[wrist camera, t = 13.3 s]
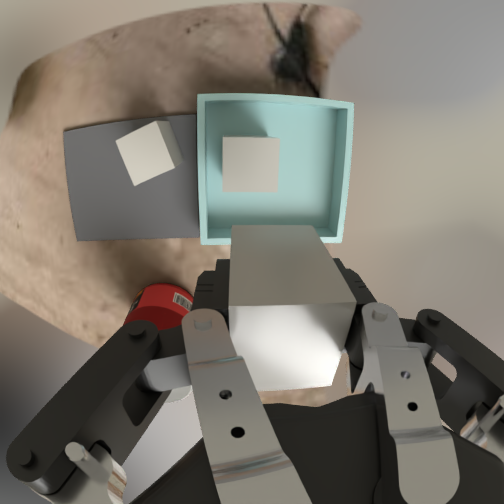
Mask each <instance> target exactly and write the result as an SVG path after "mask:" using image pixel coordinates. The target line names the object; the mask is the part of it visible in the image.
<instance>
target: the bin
mask: <svg viewBox="0 0 504 504" xmlns="http://www.w3.org/2000/svg"><path fill="white" fill-rule="evenodd" d="M353 117H354V103H350V102H343V101H337V100H330V99H322V98H313V97H303V96H292V95H277V94H254V93H213V94H197V150H198V191H199V216H200V236H201V245H226V244H231V231H232V225H312V226H313V227H314V229H315V230H316V232H317V234H318V235H319V237H320V239H321V240H322V242H323V243H341V242H342V236H343V228H344V221H345V213H346V205H347V195H348V187H349V186H348V185H349V176H350V164H351V152H352V138H353V119H354V118H353ZM224 135H266V136H272V137H276V138H280V150H279V172H278V191H277V192H222V164H223V136H224Z"/></svg>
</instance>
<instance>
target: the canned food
mask: <svg viewBox="0 0 504 504" xmlns="http://www.w3.org/2000/svg"><path fill="white" fill-rule="evenodd" d="M192 303H193V297H192V296H191V295H190V294H189V293H188V292H187V291H185V290H184V289H182V288H180V287H178V286H175V285H172V284H168V283H157V284H152V285H149V286H147V287H146V288H144V289H143V290H141V291H140V292H139V293H138V294H137V296H136V297H135V299H134V301H133V304H132V306H131V308H130V310H129V313H128V315H127V317H126V319H125V322H124V324H123V325H125V324H126V323H128V322H131V321H135V320H147V321H150V322H152V323H154V324H155V325H156V326H157V328H158V330H164V329H169V328H173V327H176V326H179V325H181V324H182V319H183V317H184V316H185V315H186V314H187V313H189V312H191V307H192ZM191 391H192V385H190V386H186V387H181V388H176V389H172V392H171V393H170V395H169V396H168V398H167V399H166V401H165V402H164V403H172V402H177V401H180V400H182V399H184V398H186V397H187V396H188V395H190V393H191Z"/></svg>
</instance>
